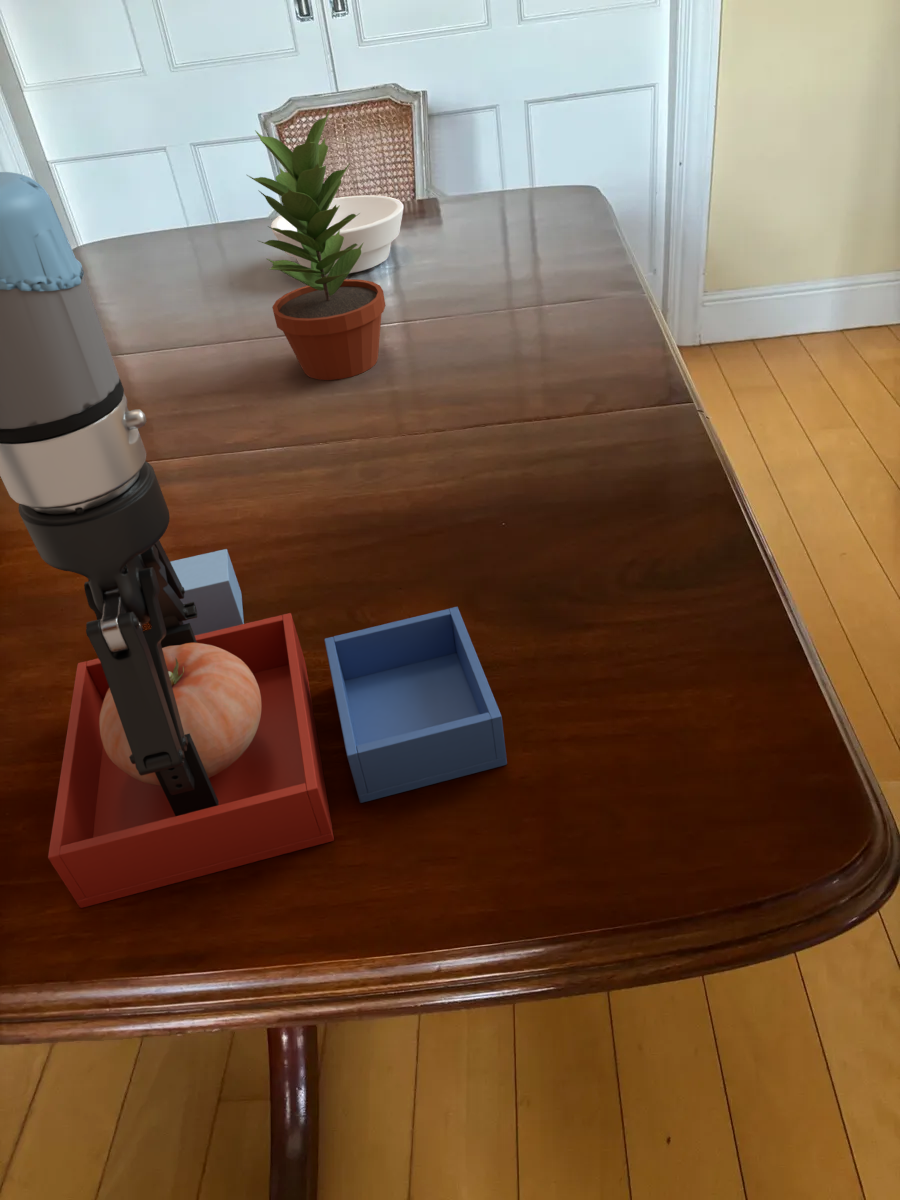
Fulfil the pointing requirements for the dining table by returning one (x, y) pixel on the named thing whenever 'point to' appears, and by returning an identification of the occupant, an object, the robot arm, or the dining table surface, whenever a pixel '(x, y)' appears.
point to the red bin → (244, 789)
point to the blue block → (210, 591)
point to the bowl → (358, 228)
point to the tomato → (198, 708)
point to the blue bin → (414, 704)
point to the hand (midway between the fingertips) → (197, 749)
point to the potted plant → (320, 268)
